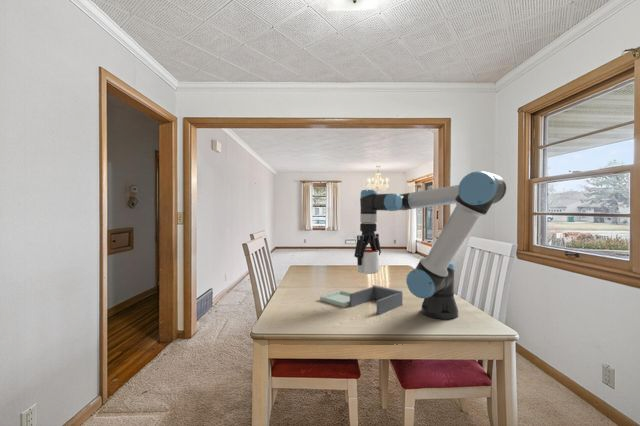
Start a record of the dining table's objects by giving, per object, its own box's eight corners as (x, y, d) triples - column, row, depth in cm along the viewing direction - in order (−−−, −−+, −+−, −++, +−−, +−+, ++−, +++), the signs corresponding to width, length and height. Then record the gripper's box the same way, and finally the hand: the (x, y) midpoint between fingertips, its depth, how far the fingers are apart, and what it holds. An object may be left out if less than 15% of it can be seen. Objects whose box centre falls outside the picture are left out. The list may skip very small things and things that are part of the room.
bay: (402, 304, 152) (402, 290, 152) (379, 314, 139) (379, 299, 139) (373, 298, 164) (373, 284, 164) (349, 306, 150) (349, 292, 150)
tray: (365, 300, 160) (365, 296, 160) (344, 307, 149) (344, 303, 149) (341, 294, 172) (341, 290, 171) (320, 300, 160) (320, 296, 160)
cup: (377, 270, 154) (378, 249, 154) (379, 274, 144) (379, 252, 144) (357, 269, 155) (357, 249, 155) (357, 274, 145) (357, 252, 145)
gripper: (375, 221, 160) (375, 265, 160) (346, 223, 144) (346, 272, 145) (388, 222, 154) (388, 268, 155) (359, 224, 138) (359, 275, 139)
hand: (367, 270), depth 150 cm, fingers closed on cup, 10 cm apart
